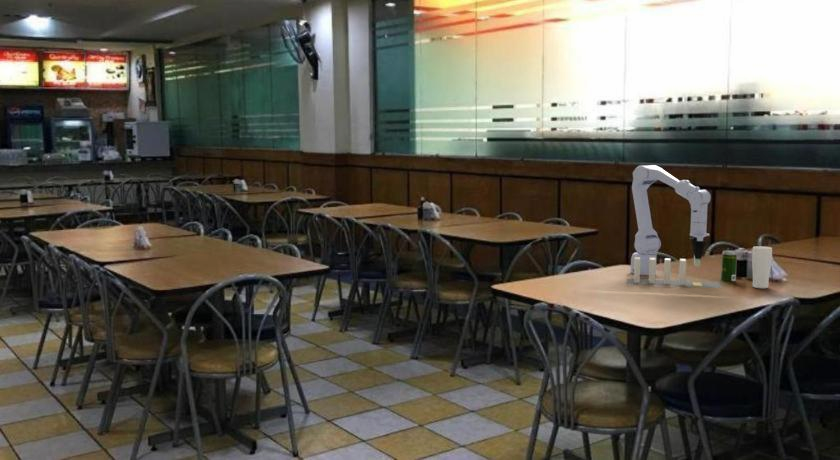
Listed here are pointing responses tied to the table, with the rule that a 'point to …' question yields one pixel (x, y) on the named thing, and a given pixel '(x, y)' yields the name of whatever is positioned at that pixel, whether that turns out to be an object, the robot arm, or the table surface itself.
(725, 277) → the beer can
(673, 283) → the domino mat
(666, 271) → the domino
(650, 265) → the domino
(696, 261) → the domino
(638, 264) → the domino
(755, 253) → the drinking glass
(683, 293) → the table surface
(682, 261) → the domino
